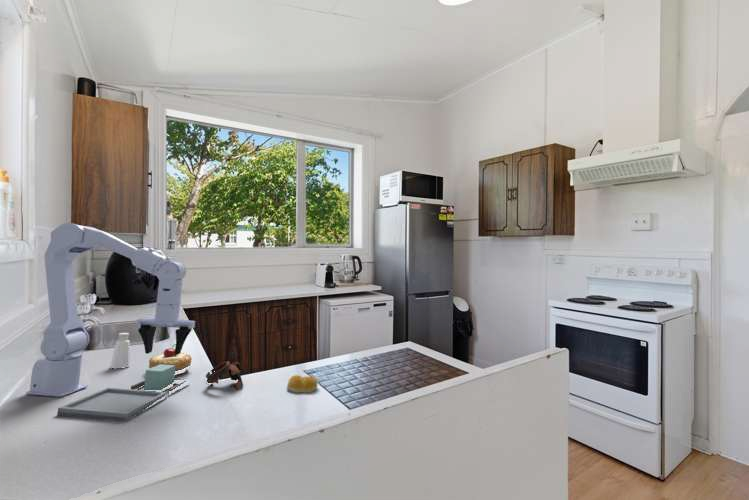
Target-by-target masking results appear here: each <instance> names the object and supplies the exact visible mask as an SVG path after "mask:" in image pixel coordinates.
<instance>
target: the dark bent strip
mask: <svg viewBox="0 0 749 500" xmlns="http://www.w3.org/2000/svg"><path fill="white" fill-rule="evenodd" d="M174 380H184V378H175V377H174ZM184 382H186V381H184ZM184 382H182V383H180V384H178V385H175V386H174V385H173V387H171V388H169V389H168V392H169V391H172V390H173V389H175V388H176V387H178V386H180V385H181V384H183V383H184ZM144 384H145V379H144V380H142V381H139V382H137V383H134V384H132V385H131V386H130V389H133V390H135V389H137V388H139V387H141V386H143V385H144Z"/></svg>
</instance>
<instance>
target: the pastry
mask: <svg viewBox="0 0 749 500" xmlns="http://www.w3.org/2000/svg"><path fill="white" fill-rule="evenodd" d="M175 346H176V343H174V344H173V345H172V348H166V349H165V350H164V351H163V353H161V354H158V353H157V354H156V355H152V357H150V359H149V360H148V364H149V365H148V369H150V368H152V367H155V366H157V365H160V364H163V365H175V371H178V370H182V369H184V368H186V367H188V366H190V367H191V364H192V357H191V355H190V354H188V353H186V354H185V352H183V353H182V352H181V353H180V354H178V355H175V348H174V347H175Z"/></svg>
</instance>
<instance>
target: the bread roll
mask: <svg viewBox="0 0 749 500" xmlns="http://www.w3.org/2000/svg"><path fill="white" fill-rule="evenodd" d="M317 389H318V381H317V379H316V378H315V377H314V376H301V375H296V374H295V375H292V376H291V377H290V378H289V379H288V382H287V385H286V390H287V391H289V392H292V393H305V394H306V393H307V394H309V393H312V392H314V391H315V390H317Z"/></svg>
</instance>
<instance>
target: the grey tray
mask: <svg viewBox="0 0 749 500" xmlns="http://www.w3.org/2000/svg"><path fill="white" fill-rule="evenodd" d="M165 395H166V396H167V395H168V393H167V392H166V391H164V392H156V391H145V390H144V389H138V390H133V389H131V388H122V387H121V388H120V387H109V386H108V387H106V388H103V389H101V390H98V391H95V392H94V393H91V394H89V395H86V396H84V397H81V398H79V399H76V400H73V401H72V402H69V403H66V404H65V405H62V406H60V407H58V408H57V416H61V417H62V416H64V417H71V418H73V417H74V418H85V419H97V420H105V421H106V420H108V421H118V422H119V421H120V422H128V421H130V420H131V419H133V418H135V417H136V416H138V415H139V414H138V413H140V412H142V411H143V410H145V409H146V408H147V407H149V406H150V405H152V404H153V403H154V402H156V401H157V400H159V399H161V398H162V397H164V396H165ZM145 411H146V410H145ZM143 412H144V411H143ZM143 412H142V413H143ZM137 414H138V415H137ZM140 414H141V413H140ZM135 415H136V416H135ZM134 416H135V417H134ZM132 417H133V418H132Z"/></svg>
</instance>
